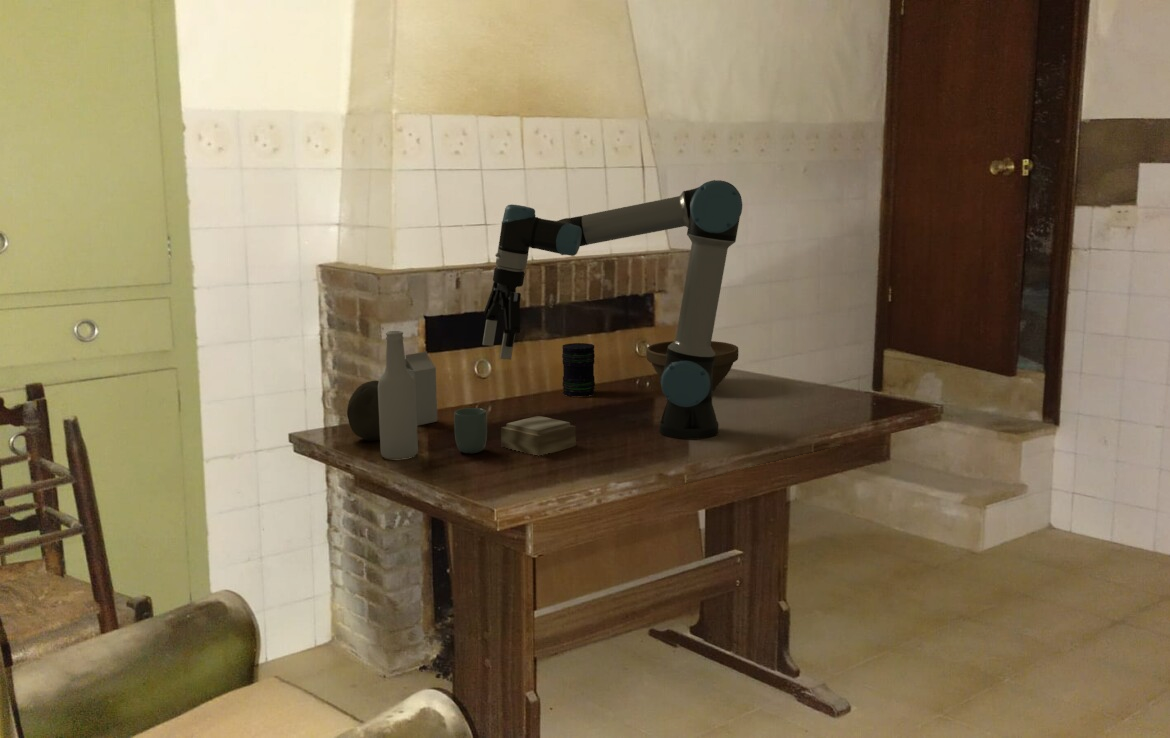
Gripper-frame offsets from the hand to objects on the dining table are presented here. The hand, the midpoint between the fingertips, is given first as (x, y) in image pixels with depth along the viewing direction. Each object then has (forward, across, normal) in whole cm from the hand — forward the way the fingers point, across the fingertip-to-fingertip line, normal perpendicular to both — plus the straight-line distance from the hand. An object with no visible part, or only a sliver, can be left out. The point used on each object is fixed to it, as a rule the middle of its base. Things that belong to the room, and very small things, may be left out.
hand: (496, 352), depth 263 cm
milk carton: (+27, -24, -9) cm, 38 cm away
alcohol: (+26, +8, -23) cm, 35 cm away
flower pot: (+14, -32, +78) cm, 86 cm away
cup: (+23, +11, -6) cm, 26 cm away
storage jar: (+20, -39, +44) cm, 62 cm away
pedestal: (+20, +14, +10) cm, 26 cm away
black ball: (+28, -10, -24) cm, 38 cm away
